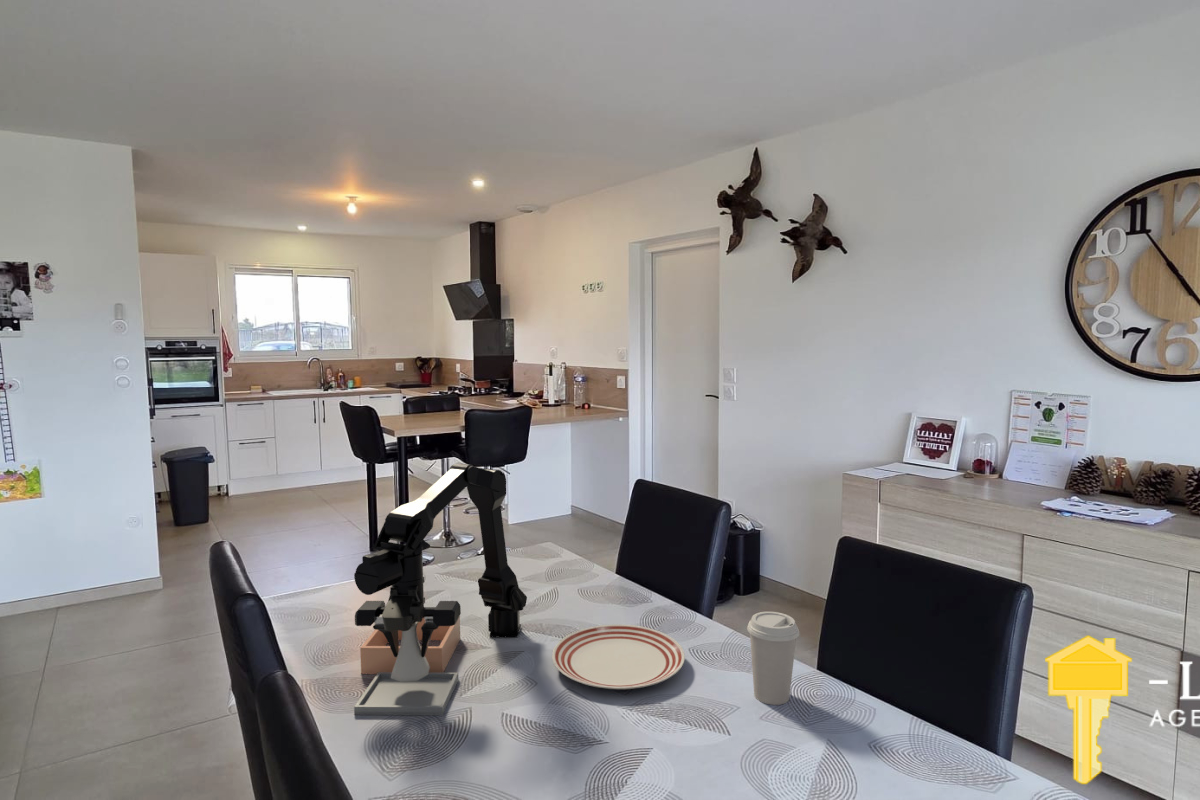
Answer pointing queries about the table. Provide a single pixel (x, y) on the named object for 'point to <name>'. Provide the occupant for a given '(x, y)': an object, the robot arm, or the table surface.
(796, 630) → the coffee cup
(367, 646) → the terracotta box
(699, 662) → the table surface
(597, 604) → the table surface
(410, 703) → the grey tray
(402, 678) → the flask
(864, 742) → the table surface
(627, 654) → the dinner plate
